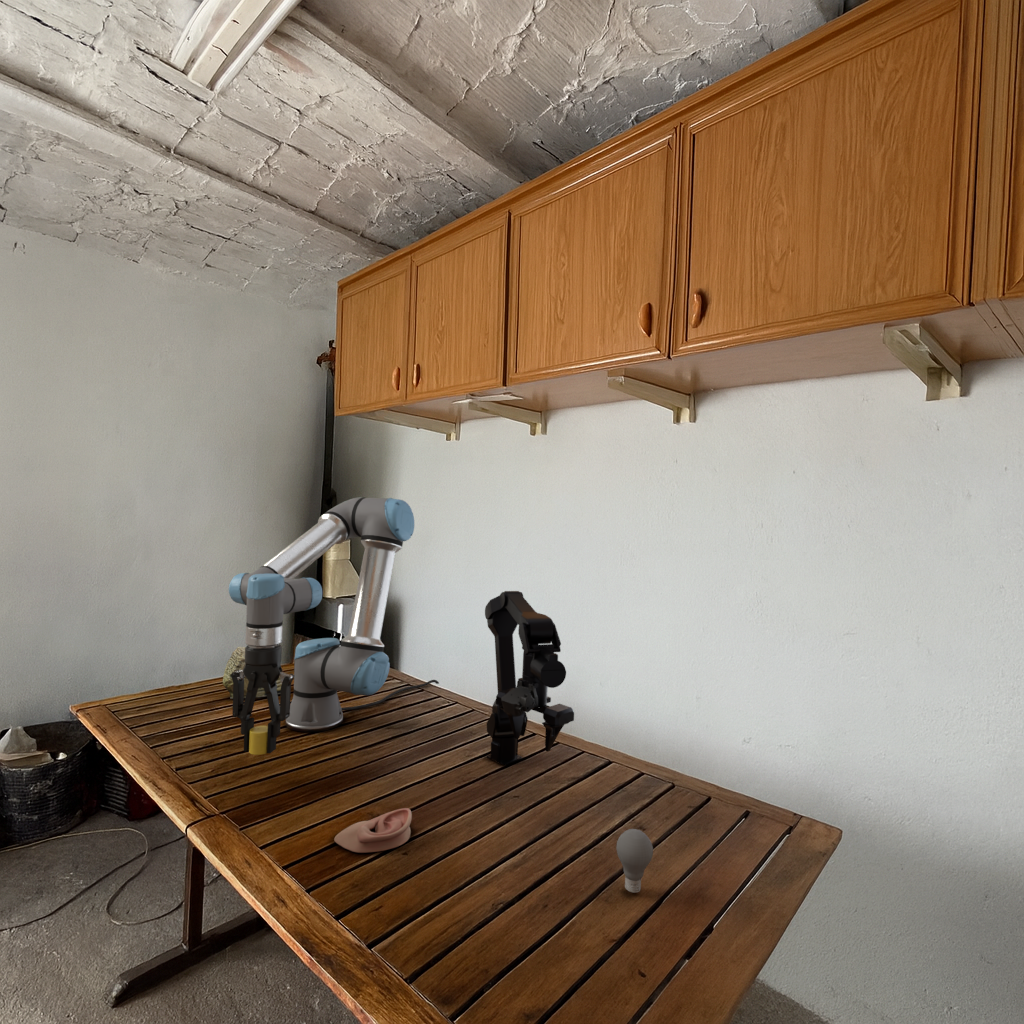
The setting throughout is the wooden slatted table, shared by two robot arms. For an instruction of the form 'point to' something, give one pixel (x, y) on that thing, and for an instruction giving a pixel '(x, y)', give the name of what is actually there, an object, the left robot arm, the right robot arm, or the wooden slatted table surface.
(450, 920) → the wooden slatted table surface
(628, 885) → the light bulb
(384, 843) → the anatomical model
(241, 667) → the fossil
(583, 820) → the wooden slatted table surface
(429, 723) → the wooden slatted table surface
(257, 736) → the canister
